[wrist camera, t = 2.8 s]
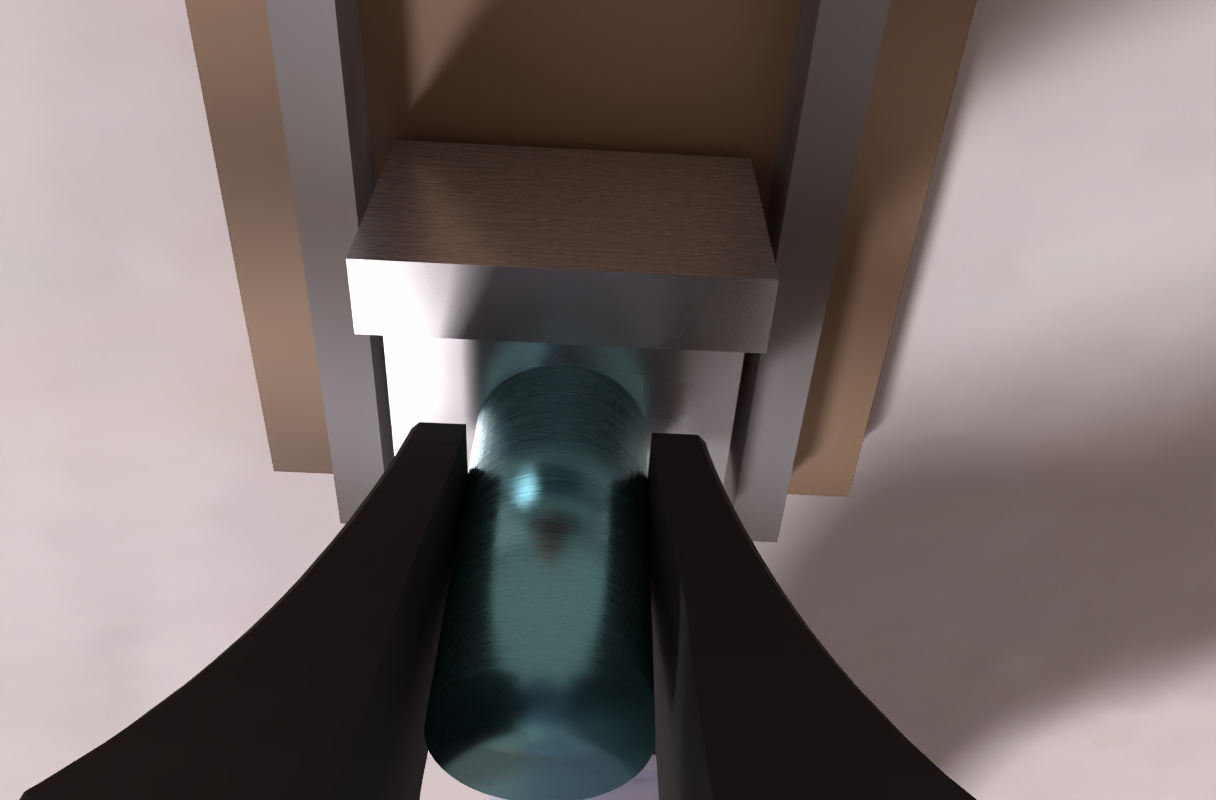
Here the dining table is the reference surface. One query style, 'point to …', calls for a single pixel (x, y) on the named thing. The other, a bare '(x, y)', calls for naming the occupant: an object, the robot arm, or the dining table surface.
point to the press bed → (592, 120)
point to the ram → (557, 420)
